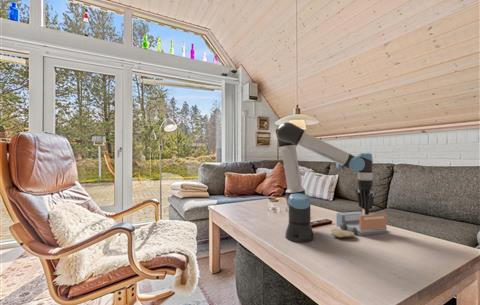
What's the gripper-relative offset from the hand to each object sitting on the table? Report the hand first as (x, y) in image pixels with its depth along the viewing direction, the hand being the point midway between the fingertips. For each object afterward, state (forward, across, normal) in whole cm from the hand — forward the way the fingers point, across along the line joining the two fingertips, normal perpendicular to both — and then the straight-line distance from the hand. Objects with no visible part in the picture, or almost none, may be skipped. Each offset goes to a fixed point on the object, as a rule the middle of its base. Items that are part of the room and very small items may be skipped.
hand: (365, 220), depth 135 cm
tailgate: (+4, -6, 0) cm, 7 cm away
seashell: (+8, -3, +14) cm, 16 cm away
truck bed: (+7, +2, 0) cm, 7 cm away
